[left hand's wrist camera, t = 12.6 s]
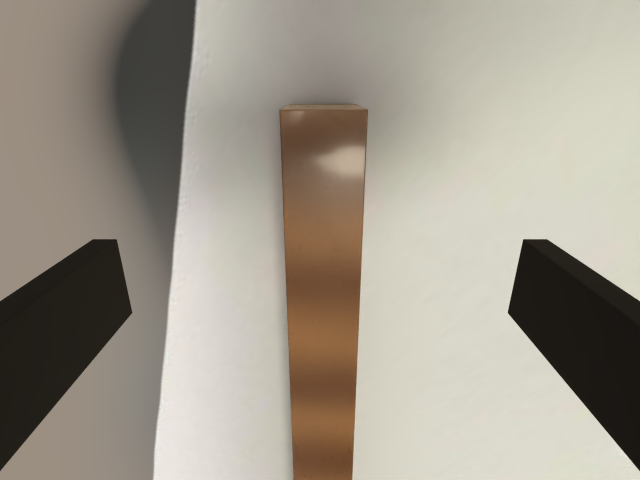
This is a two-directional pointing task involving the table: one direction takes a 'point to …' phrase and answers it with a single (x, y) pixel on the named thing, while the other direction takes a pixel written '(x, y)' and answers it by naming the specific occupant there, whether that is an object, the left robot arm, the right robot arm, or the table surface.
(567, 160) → the table surface
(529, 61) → the table surface
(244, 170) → the table surface
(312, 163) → the post
